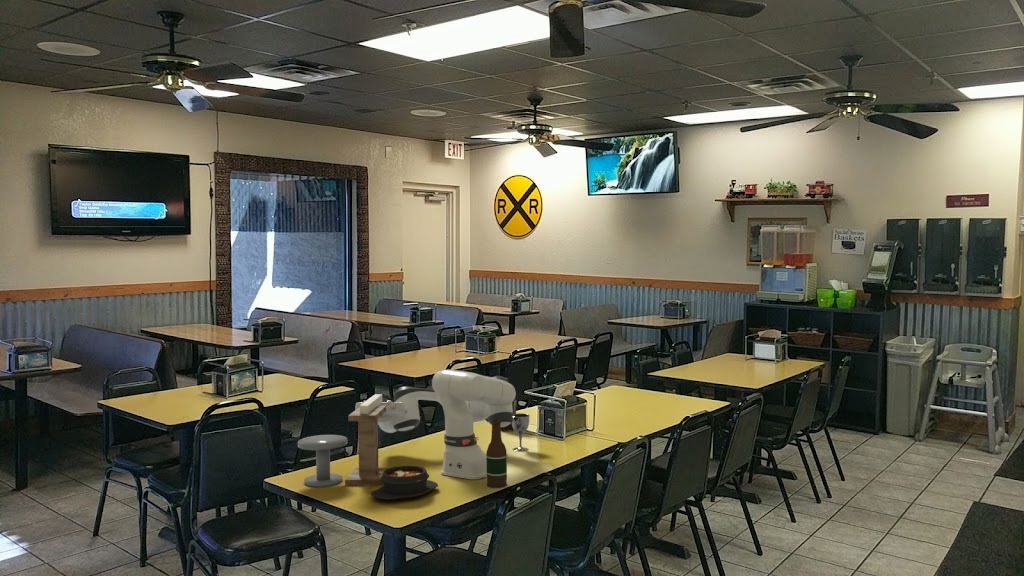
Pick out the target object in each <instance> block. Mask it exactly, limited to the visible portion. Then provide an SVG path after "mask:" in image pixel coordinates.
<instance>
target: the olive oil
mask: <svg viewBox="0 0 1024 576" xmlns="http://www.w3.org/2000/svg"><path fill="white" fill-rule="evenodd" d="M505 378H506V379H507V381H508V383H509V384H510V378H509V377H505ZM517 397H518V396H517V394H516V395H515V399H514V401H513V402H512V408H513V414H517V401H518V400H517ZM501 430H512V431H514V430H513V427H512V423H511V424H510V425H508V426H505V427H501Z"/></svg>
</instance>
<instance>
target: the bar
mask: <svg viewBox="0 0 1024 576" xmlns="http://www.w3.org/2000/svg"><path fill="white" fill-rule="evenodd" d="M364 401H365V402H364ZM364 401H363V402H364V403H363V404H361V405H360V414H368V413H370V412H371V411H372V410H373V409H374V408H375V407H377V406H378V405H379V404H380V403H381V402H383V394H382V393H380V394H379V393H375V394H374V395H372V396H371V397H369V398H368V399H367V400H364Z"/></svg>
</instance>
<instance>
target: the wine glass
mask: <svg viewBox="0 0 1024 576" xmlns="http://www.w3.org/2000/svg"><path fill="white" fill-rule="evenodd" d="M529 425H530V414H529V413H522V412H521V413H516V414H513V422H512V427H513V429H514V430H513V431H515V433H516V434H517V435H518V440H519V446H518V447H513V448H512V451H514V452H518V453H519V452H528V451H529V449H530V448H528V447H523V446H522V441H523V435H524V434H525V433H526V431H527V430H528V428H529V427H530V426H529Z"/></svg>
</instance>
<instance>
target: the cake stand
mask: <svg viewBox="0 0 1024 576" xmlns="http://www.w3.org/2000/svg"><path fill="white" fill-rule="evenodd" d="M346 445H348V437H346V436H345V435H339V434H319V435H318V434H317V435H311V436H306V437H303V438H300V439H299V440H298V441H297V447H298V449H301V450H304V451H315V461H316V462H315V463H316V464H315V467H316V471H315V472H316V474H313V475H309V476H306V477H305V478H304V479H303V483H305V484H306V485H305V484H304V485H305V486H307V485H308V486H307V487H311V486H314V487H313V488H321V487H320V486H323V487H324V486H325V487H331V486H335V485H338V484H340V483H342V482H343V475H341V474H338V473H334V472H333V473H332V472H331V453H330V452H331V450H333V449H339V448H342V447H344V446H346ZM323 487H322V488H323ZM325 487H324V488H325Z"/></svg>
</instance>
